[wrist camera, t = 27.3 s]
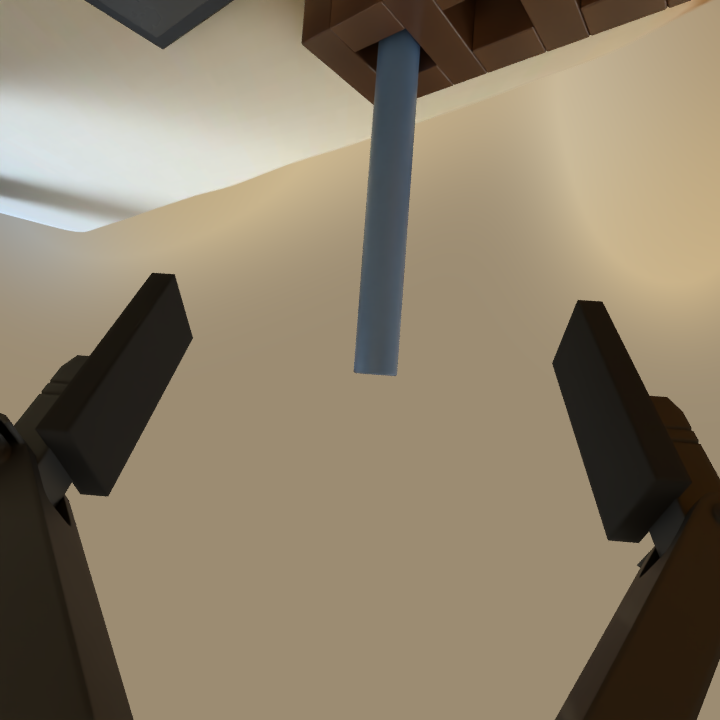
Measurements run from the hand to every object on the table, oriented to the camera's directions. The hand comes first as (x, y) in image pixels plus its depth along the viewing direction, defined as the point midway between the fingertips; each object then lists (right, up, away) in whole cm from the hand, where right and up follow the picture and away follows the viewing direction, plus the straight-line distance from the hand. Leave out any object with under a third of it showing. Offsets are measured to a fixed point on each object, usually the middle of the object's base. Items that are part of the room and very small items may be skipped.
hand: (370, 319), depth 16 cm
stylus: (+2, +16, +7) cm, 17 cm away
